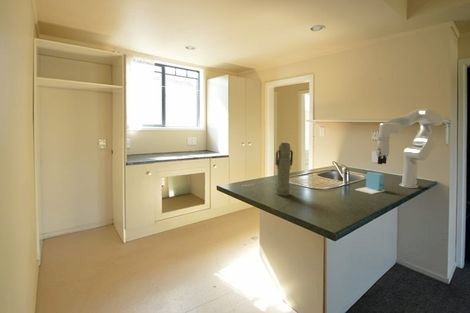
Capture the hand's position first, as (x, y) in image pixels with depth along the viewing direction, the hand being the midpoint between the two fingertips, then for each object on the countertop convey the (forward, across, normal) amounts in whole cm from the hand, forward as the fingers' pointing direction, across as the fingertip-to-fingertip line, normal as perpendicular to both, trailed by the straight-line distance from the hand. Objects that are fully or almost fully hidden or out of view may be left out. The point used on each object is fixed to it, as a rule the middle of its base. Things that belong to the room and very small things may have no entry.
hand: (381, 163), depth 203 cm
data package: (+19, +8, 0) cm, 21 cm away
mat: (+19, +13, 0) cm, 23 cm away
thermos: (+19, +77, -25) cm, 83 cm away
